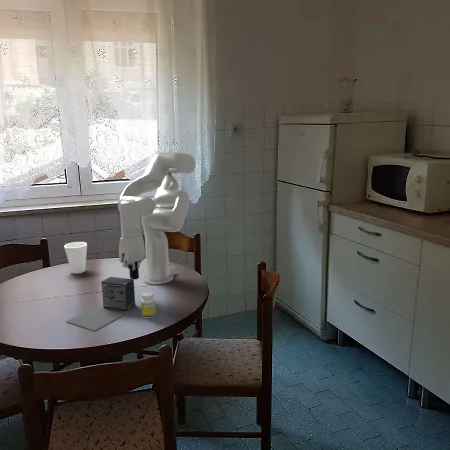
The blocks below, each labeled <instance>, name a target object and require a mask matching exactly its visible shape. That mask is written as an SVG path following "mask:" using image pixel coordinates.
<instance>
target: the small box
mask: <svg viewBox="0 0 450 450" xmlns="http://www.w3.org/2000/svg"><path fill="white" fill-rule="evenodd" d="M134 281H135V279H131V278H127V277H126V278H125V277H124V278H123V277H116V276H109V277H107V278H106V279H105V278H104V280H102V281H101V282H100V284H101V291H102V292H101V294H102V295H101V296H102V305H103V307H102V308H103V309H107V310H118V311H123V312H128V311H129V310H131V309H132V308H133V307H134V306H136V296H135V295H136V292H135V282H134Z"/></svg>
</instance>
